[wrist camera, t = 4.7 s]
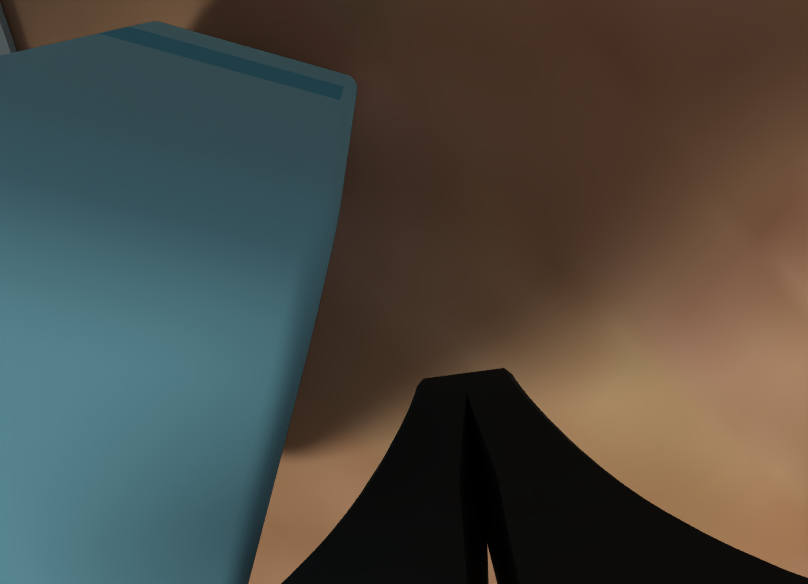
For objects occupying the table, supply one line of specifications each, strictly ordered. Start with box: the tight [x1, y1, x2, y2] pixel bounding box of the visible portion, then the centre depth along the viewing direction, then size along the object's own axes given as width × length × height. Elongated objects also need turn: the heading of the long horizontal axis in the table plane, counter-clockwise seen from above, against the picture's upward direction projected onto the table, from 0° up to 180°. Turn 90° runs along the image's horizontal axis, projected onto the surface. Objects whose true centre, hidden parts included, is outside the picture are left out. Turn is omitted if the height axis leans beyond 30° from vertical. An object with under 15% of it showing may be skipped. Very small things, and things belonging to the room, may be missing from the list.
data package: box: [0, 21, 357, 584], centre depth 14 cm, size 12×4×12 cm, turn 164°
